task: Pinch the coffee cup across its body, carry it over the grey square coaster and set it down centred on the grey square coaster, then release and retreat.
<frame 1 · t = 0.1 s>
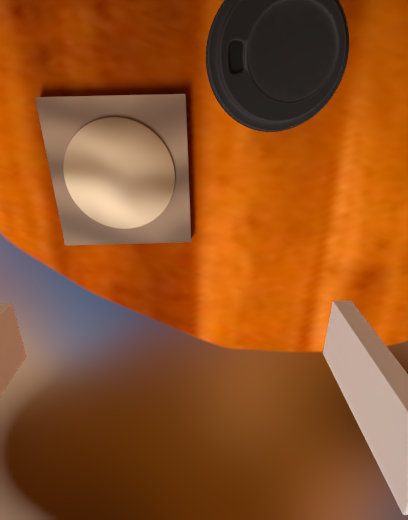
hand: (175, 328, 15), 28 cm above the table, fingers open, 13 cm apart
coffee cup: (249, 70, 35), on the table
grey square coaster: (122, 174, 39), on the table
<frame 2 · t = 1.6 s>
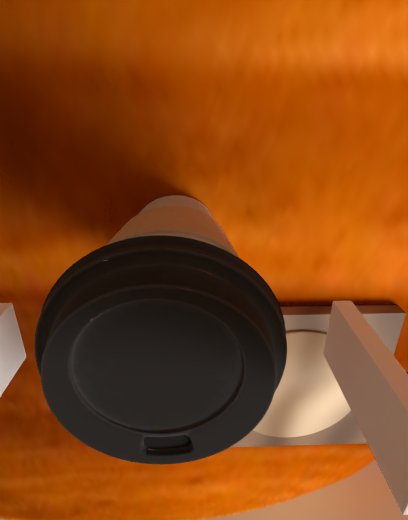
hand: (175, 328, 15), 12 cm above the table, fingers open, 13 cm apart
coffee cup: (176, 231, 25), on the table
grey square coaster: (291, 376, 31), on the table
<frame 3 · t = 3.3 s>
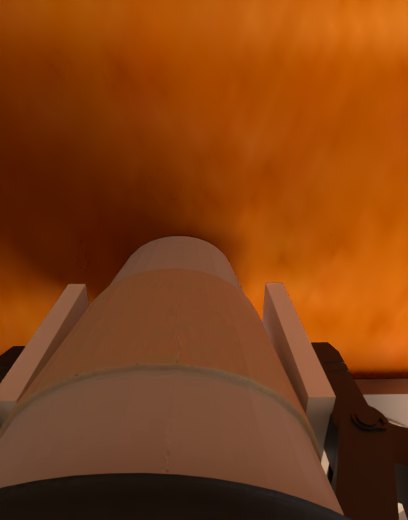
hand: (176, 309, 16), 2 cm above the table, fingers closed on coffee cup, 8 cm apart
coffee cup: (179, 283, 18), on the table, touching gripper
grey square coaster: (328, 461, 24), on the table
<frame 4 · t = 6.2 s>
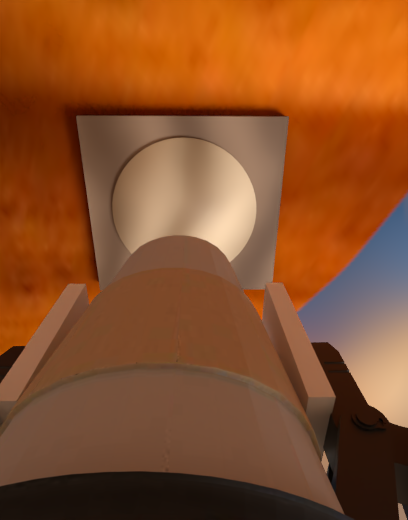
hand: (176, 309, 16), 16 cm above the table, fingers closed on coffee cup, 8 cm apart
coffee cup: (179, 282, 18), point 14 cm above the table, touching gripper
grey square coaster: (185, 208, 30), on the table
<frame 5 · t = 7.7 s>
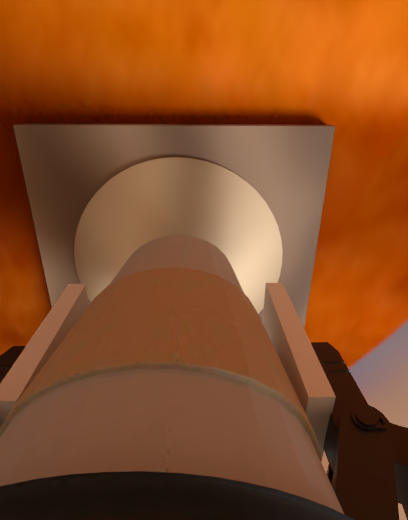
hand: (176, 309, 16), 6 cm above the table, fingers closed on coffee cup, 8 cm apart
coffee cup: (179, 282, 18), point 4 cm above the table, touching gripper
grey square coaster: (180, 253, 22), on the table
when the fingers open (5 cm above the table, at t = 8.9 s): coffee cup stays where it is, resting on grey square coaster.
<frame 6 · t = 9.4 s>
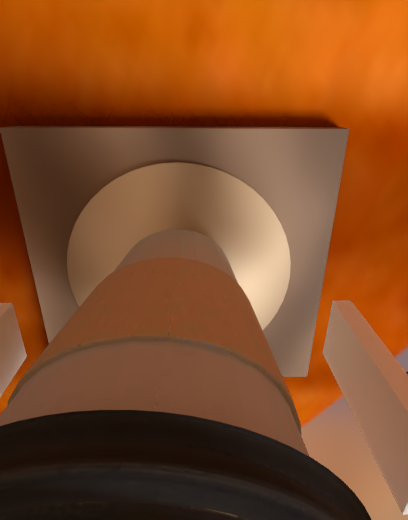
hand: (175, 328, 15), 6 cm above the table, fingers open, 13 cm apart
coffee cup: (178, 275, 19), point 1 cm above the table, touching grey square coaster
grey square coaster: (180, 264, 20), on the table
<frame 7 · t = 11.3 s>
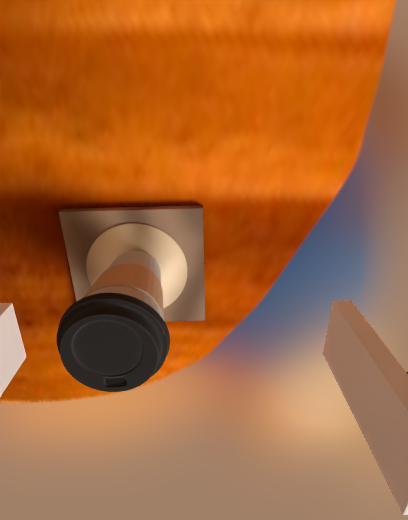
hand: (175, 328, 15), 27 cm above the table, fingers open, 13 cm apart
coffee cup: (136, 270, 42), point 1 cm above the table, touching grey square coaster
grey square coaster: (139, 266, 43), on the table
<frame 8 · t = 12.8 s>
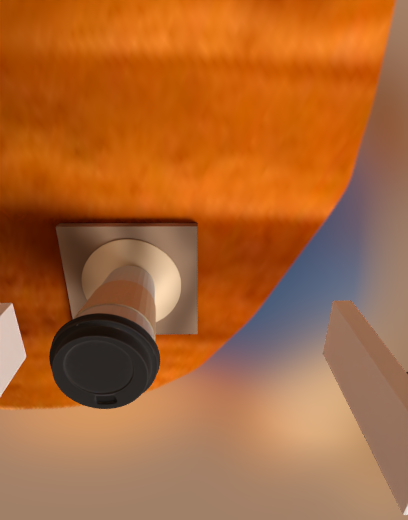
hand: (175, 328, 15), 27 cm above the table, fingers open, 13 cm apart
coffee cup: (131, 284, 43), point 1 cm above the table, touching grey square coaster
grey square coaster: (133, 279, 44), on the table
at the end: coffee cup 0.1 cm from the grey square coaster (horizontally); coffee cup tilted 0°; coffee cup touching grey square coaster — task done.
